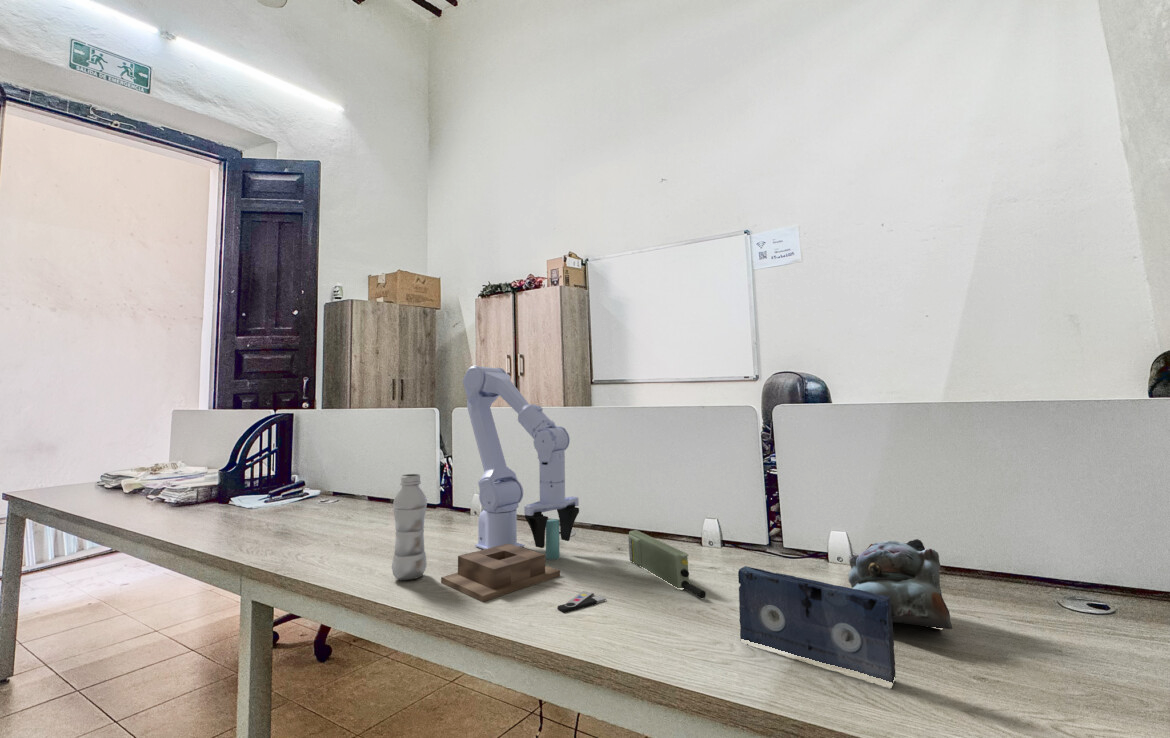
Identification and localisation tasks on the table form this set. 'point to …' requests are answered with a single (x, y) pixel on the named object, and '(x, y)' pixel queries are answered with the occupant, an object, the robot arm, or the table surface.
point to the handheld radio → (661, 560)
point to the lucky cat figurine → (903, 581)
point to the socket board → (494, 593)
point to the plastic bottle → (409, 529)
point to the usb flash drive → (580, 602)
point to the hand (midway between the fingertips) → (552, 543)
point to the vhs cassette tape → (818, 621)
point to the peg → (552, 539)
